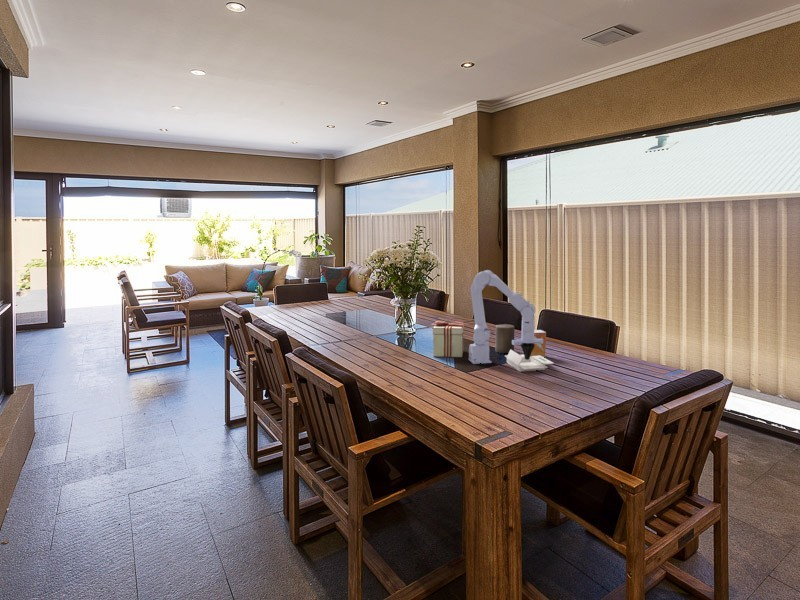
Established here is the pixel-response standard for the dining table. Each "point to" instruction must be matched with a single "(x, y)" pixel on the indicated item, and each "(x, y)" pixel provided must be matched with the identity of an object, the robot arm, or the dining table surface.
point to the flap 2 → (542, 359)
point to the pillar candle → (504, 338)
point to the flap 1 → (514, 357)
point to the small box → (539, 344)
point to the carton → (527, 364)
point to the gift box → (448, 339)
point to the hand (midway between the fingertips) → (527, 359)
